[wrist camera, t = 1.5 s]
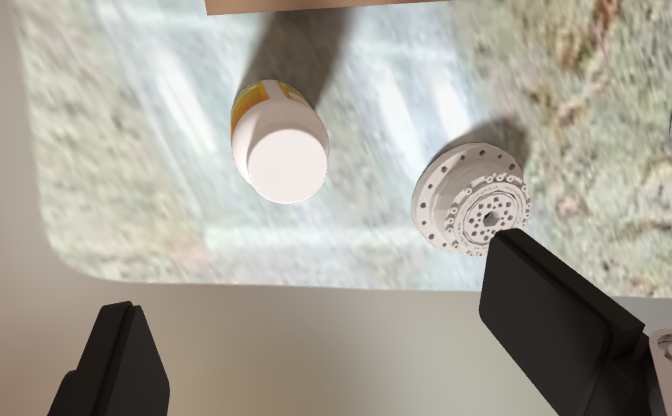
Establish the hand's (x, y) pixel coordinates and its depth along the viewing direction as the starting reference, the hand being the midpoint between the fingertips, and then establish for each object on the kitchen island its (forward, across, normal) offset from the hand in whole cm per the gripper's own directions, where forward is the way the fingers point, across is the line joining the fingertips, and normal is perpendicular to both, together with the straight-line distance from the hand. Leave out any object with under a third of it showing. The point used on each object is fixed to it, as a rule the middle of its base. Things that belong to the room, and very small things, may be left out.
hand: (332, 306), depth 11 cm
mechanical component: (+20, -16, +9) cm, 27 cm away
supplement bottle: (+20, 0, 0) cm, 20 cm away
